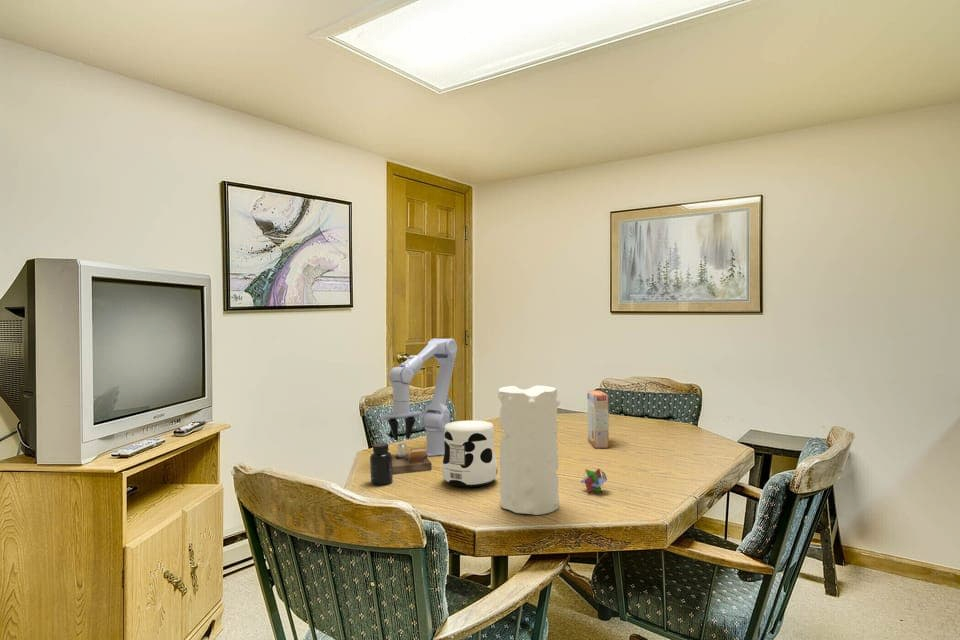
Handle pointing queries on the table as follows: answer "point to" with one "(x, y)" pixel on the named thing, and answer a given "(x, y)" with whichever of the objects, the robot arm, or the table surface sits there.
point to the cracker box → (598, 419)
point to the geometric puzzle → (594, 480)
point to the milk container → (469, 453)
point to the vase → (529, 449)
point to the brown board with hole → (409, 464)
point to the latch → (417, 453)
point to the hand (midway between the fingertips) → (401, 439)
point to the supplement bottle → (381, 465)
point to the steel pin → (401, 451)
